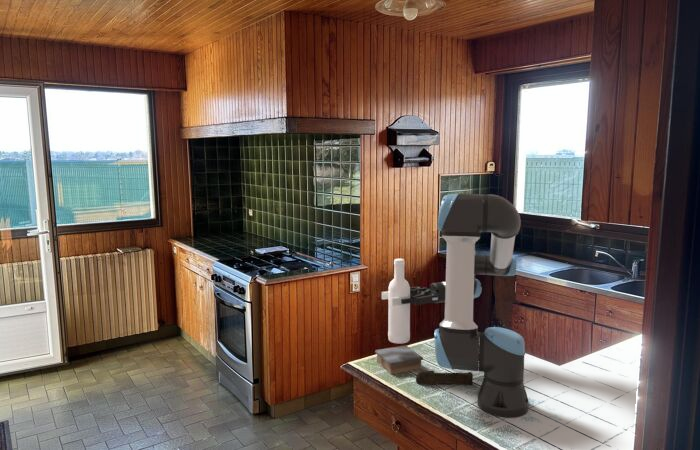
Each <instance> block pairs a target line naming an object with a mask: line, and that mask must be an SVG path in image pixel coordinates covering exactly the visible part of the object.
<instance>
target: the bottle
mask: <svg viewBox="0 0 700 450" xmlns="http://www.w3.org/2000/svg"><path fill="white" fill-rule="evenodd" d="M405 263H406V262H405V259H404V258H395V259H394V260H393V266H394V269H393V270H394V271H393V277H394V278H392V279H391V281H390V282H389V284H388V290H387V291H388V299H387V300H388V302H387V303H388V304H387V305H388V314H387V315H388V317H387V318H388V319H387V321H388V327H387V329H388V331H387V337H388V338H387V339H388V341H389V342H390V343H393V344H406V343H408V342H410V340H411V314H410V313H411V304H410V303H409V304H405V305H397V306H392V298H396V297H404V296H409V298H410V287H411V285H410V283H409V281H408V280H407V279H406V278H405Z"/></svg>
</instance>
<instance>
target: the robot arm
mask: <svg viewBox="0 0 700 450" xmlns="http://www.w3.org/2000/svg"><path fill="white" fill-rule="evenodd" d="M437 218H438V219H437V231H439V232H441V238H442V239H443V240H445V242H446V257H445V258H446V261H445V262H446V263H445V267H446V268H445V281H441V282H439V281H438V282H432V283H430V285H429V286H428V287H422V286H420V285H418V286H412V287H411V286H410V298H409V296H404V297H396V298H392V306H397V305H405V304H409V303H410V305H413V306H421V305H426V304H431V303H434V304H440V303H444V319H443V320H442V321H441V322H440V323H439V328H436V329H434V333H433V335H434V341H433V342H434V353H435V358H436V363H437V365H438V366H439V367H440V368H443V369H450V370H451V371H452V370H453V371H455V370H460V371H469V372H480V373H481V372H482V373H483V380H482V383H481V385H480V389H479V391H478V392H477V395H476V399H477V400H476V403H477V406H478V407H479V408H480V409H481V410H482V411H484V412H486V413H488V414H490V415H493V416H497V417H503V418H505V417H506V418H514V417H515V418H517V417H521V416H523V415H526V413H528V412H529V405H530V401H529V397H528V395H527V391H526V388H525V384H524V381H525V379H524V376H525V375H524V374H525V355H526V347H525V345H526V344H525V340H524V339H525V338H524V337H523V336H522V335H521V334H520V333H518V332H516V331H514V330H511V329H508V328H505V327H500V326H499V327H498V326H493V327H491V326H490V327H487V328H485V330H484V332H478V329H479V328H478V327H479V325H477V324H476V323H475V321H474V299H477V298H479V297H480V295H481V294H482V289H483V287H482V286H481V285H482V283H481V282H480V280H479V279H477V278H476V275H484V276H485V275H487V276H500V277H502V276H503V277H513V276H516V273H517V257H516V256H514V247H515V240H516V236H517V235H518V234H519V232H520V229H521V225H522V223H521V222H522V221H521V216H520V213H519V211H518V210H517V208H516V207H515V205H514V204H513V203H512V202H510V201H509V200H507V199H506V198H505V197H503V196H500V195H496V194H491V193H490V194H478V193H474V194H473V193H449V194H446V195H444V196H443V197H442V199H441V203H440V206H439V211H438V217H437ZM481 233H491V237H490V251H489V254H482V253H481V254H479V253H477V251H476V242H478V241H479V240H480V239H481ZM381 300H388V290H387V291H381Z"/></svg>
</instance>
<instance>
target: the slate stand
mask: <svg viewBox="0 0 700 450" xmlns="http://www.w3.org/2000/svg"><path fill="white" fill-rule="evenodd" d="M374 352H375V354H376V362H377V364H378V365H380V366H381V367H382V368H383V369H384V370H385V371H386V372H388V373H389V374H390V375H395V374H400V373H406V372H407V373H408V372H412V371H417V370H418V371H419V370H422V361H423V360H424V357H423V356H422V355H420V354H419V353H417V351H415V350H414V349H412V348H411V347H410V346H408V345H400V346H395V347H394V346H392V347H386V348H381V349H375V350H374Z"/></svg>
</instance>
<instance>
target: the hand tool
mask: <svg viewBox="0 0 700 450" xmlns="http://www.w3.org/2000/svg"><path fill="white" fill-rule="evenodd" d="M415 383H416V384H418V385H419V384H420V385H427V386H428V385H431V386H433V385H434V384H464V385H465V384H468V385H469V384H470V385H471V386H473V384H474V375H473V371H469V372H468V371H467V372H435V371H434V370H427V369H426V370H420V371H419V372H418V373H417V374H416V377H415Z"/></svg>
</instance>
